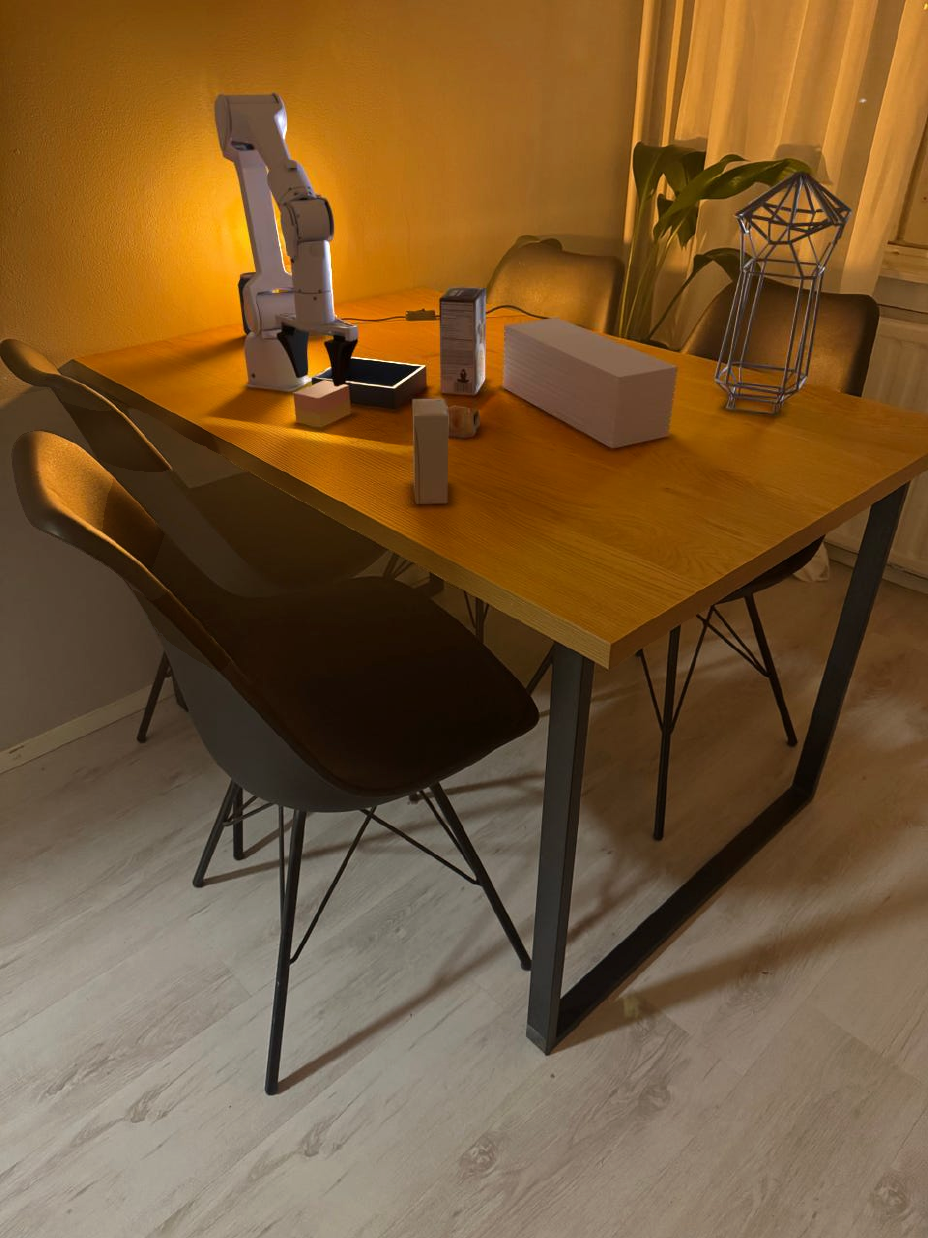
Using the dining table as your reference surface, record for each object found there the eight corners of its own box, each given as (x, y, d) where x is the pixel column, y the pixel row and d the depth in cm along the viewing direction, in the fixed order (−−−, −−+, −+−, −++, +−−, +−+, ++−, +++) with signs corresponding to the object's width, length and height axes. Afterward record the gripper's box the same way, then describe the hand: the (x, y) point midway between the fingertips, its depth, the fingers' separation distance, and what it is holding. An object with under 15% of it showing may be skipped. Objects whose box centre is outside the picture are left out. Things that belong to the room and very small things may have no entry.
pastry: (414, 434, 134) (413, 410, 132) (425, 420, 139) (424, 396, 137) (474, 439, 132) (474, 415, 130) (482, 424, 138) (483, 401, 136)
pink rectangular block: (296, 423, 138) (293, 392, 135) (327, 409, 143) (324, 379, 141) (320, 429, 136) (317, 398, 133) (351, 415, 141) (349, 385, 138)
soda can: (251, 330, 184) (243, 270, 178) (282, 331, 183) (276, 271, 177) (239, 339, 178) (231, 277, 172) (272, 340, 177) (265, 278, 171)
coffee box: (450, 378, 157) (450, 285, 148) (485, 380, 156) (487, 286, 147) (439, 394, 150) (438, 297, 141) (476, 397, 149) (477, 299, 140)
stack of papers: (502, 387, 153) (504, 324, 147) (553, 378, 157) (557, 317, 151) (611, 448, 129) (619, 377, 123) (668, 436, 134) (678, 366, 128)
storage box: (313, 400, 147) (311, 377, 145) (349, 377, 157) (348, 356, 155) (395, 411, 142) (394, 388, 140) (426, 387, 153) (426, 365, 151)
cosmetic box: (413, 485, 118) (410, 397, 112) (446, 484, 118) (445, 397, 112) (415, 505, 113) (412, 414, 106) (449, 504, 113) (449, 414, 107)
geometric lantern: (719, 385, 154) (756, 163, 135) (812, 399, 148) (864, 168, 129) (698, 413, 142) (735, 173, 123) (798, 428, 136) (853, 180, 117)
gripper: (368, 290, 128) (373, 381, 136) (293, 278, 135) (302, 366, 142) (338, 299, 123) (345, 393, 131) (261, 287, 130) (272, 377, 137)
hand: (320, 380), depth 136 cm, fingers open, 7 cm apart
